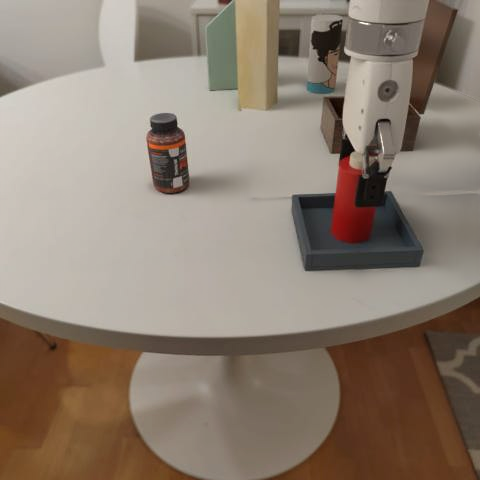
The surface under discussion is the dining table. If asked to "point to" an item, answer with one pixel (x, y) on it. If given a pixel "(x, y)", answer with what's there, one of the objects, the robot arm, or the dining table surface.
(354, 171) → the ketchup bottle
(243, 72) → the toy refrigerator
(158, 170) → the supplement bottle
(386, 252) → the tray
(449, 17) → the chest lid
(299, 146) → the dining table surface
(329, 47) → the cup
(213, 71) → the green magazine holder
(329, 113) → the chest
